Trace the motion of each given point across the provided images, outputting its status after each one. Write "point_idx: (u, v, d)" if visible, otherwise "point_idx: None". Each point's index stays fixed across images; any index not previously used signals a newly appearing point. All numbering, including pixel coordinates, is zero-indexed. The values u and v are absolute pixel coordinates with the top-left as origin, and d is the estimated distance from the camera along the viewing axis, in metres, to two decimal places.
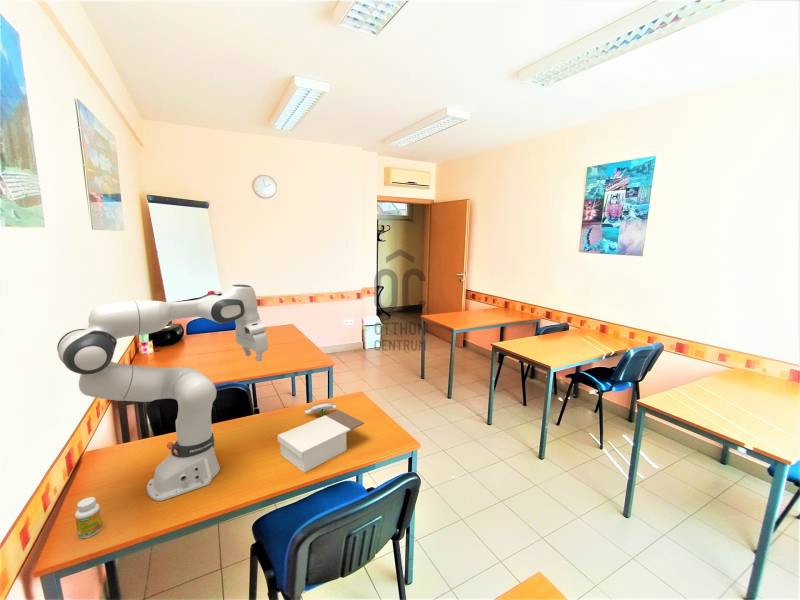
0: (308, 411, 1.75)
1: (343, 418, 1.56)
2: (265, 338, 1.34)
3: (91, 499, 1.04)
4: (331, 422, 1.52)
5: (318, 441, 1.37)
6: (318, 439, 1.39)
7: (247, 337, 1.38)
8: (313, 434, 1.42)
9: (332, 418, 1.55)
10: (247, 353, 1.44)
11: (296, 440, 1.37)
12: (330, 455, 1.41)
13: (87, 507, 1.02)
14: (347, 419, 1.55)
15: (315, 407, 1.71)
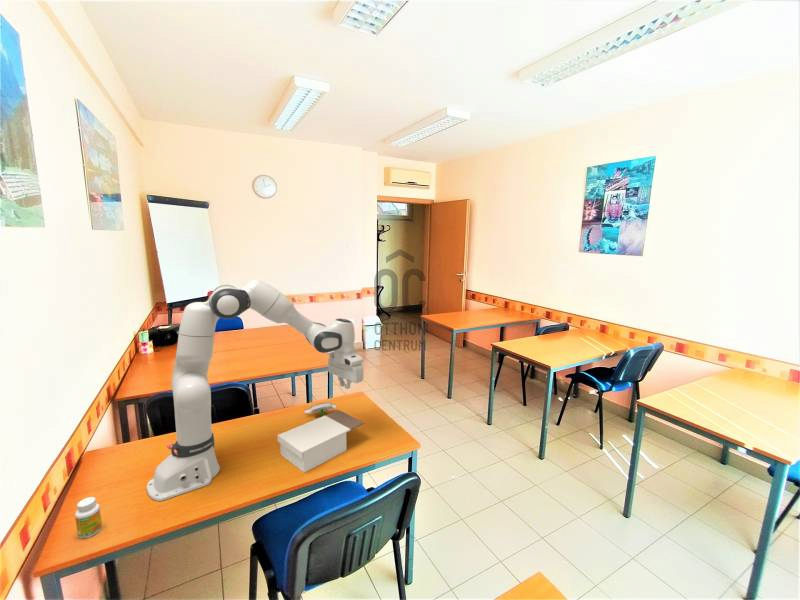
0: (308, 411, 1.75)
1: (343, 418, 1.56)
2: (362, 370, 1.47)
3: (91, 499, 1.04)
4: (331, 422, 1.52)
5: (318, 441, 1.37)
6: (318, 439, 1.39)
7: (343, 367, 1.50)
8: (313, 434, 1.42)
9: (332, 418, 1.55)
10: (342, 384, 1.54)
11: (296, 440, 1.37)
12: (330, 455, 1.41)
13: (87, 507, 1.02)
14: (347, 419, 1.55)
15: (315, 407, 1.71)
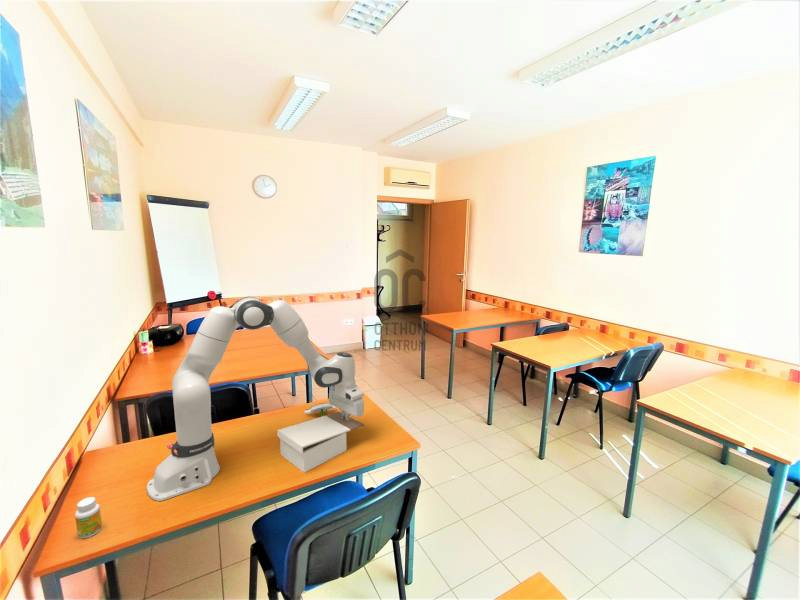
0: (308, 411, 1.75)
1: (343, 419, 1.56)
2: (362, 404, 1.49)
3: (91, 499, 1.04)
4: (331, 422, 1.52)
5: (318, 438, 1.37)
6: (318, 436, 1.39)
7: (344, 401, 1.53)
8: (313, 431, 1.42)
9: (332, 418, 1.56)
10: None
11: (296, 436, 1.37)
12: (330, 455, 1.41)
13: (87, 507, 1.02)
14: None
15: (315, 407, 1.71)
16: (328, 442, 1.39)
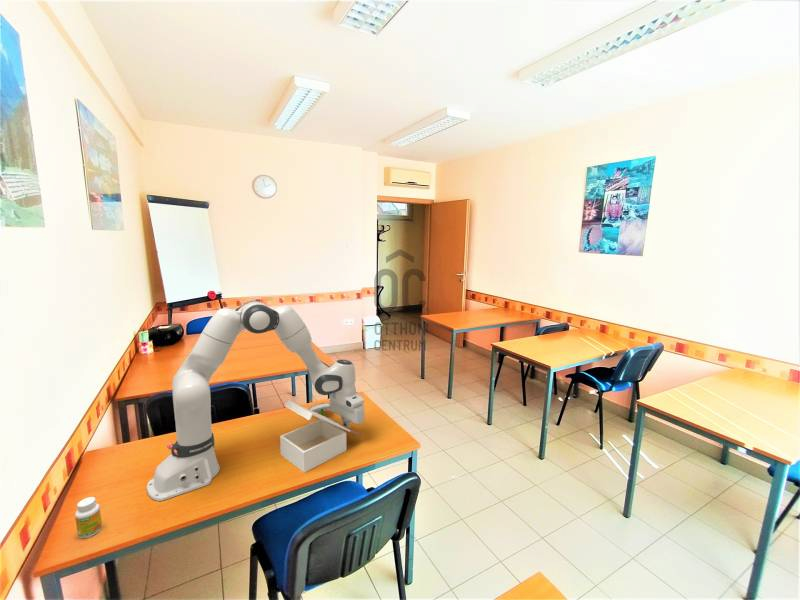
0: None
1: (342, 425, 1.56)
2: (363, 411, 1.50)
3: (91, 499, 1.04)
4: (332, 421, 1.52)
5: (324, 418, 1.38)
6: (324, 418, 1.40)
7: (344, 408, 1.53)
8: (318, 415, 1.43)
9: (332, 420, 1.56)
10: None
11: (305, 409, 1.39)
12: (330, 455, 1.41)
13: (87, 507, 1.02)
14: (345, 427, 1.55)
15: (315, 407, 1.71)
16: (328, 442, 1.39)
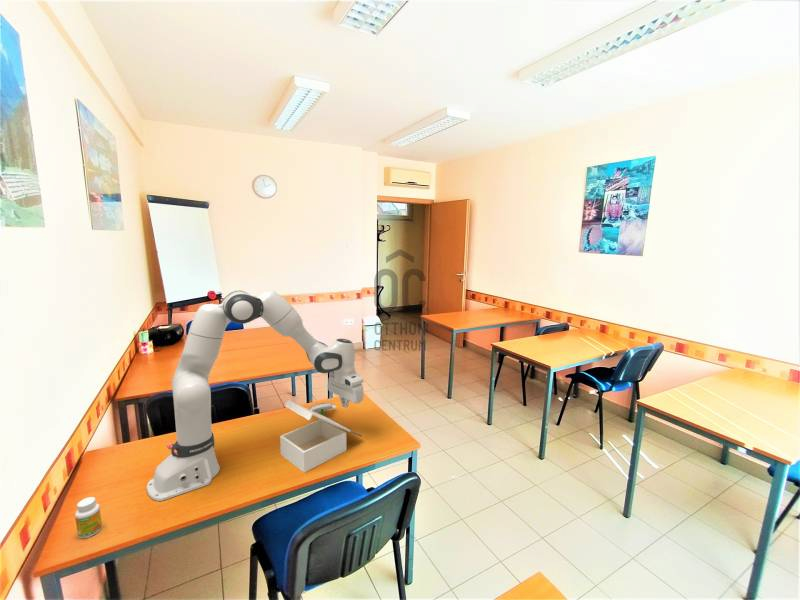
0: None
1: (342, 425, 1.56)
2: (362, 390, 1.48)
3: (90, 499, 1.04)
4: (332, 421, 1.52)
5: (324, 418, 1.38)
6: (324, 418, 1.40)
7: (343, 387, 1.52)
8: (318, 415, 1.43)
9: (332, 420, 1.56)
10: None
11: (305, 409, 1.39)
12: (330, 455, 1.41)
13: (87, 507, 1.02)
14: (345, 427, 1.55)
15: (315, 407, 1.71)
16: (328, 442, 1.39)
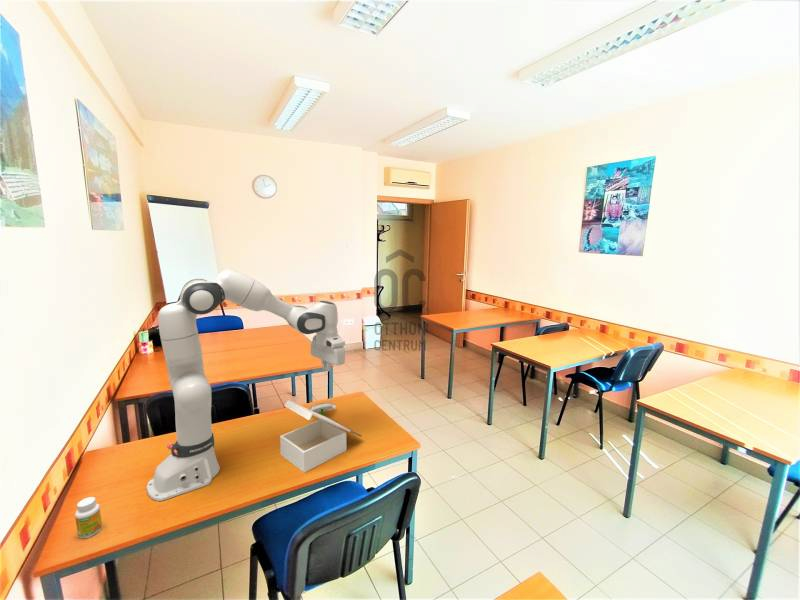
0: None
1: (342, 425, 1.56)
2: (343, 352, 1.46)
3: (90, 499, 1.04)
4: (332, 421, 1.52)
5: (324, 418, 1.38)
6: (324, 418, 1.40)
7: (325, 350, 1.49)
8: (318, 415, 1.43)
9: (332, 420, 1.56)
10: None
11: (305, 409, 1.39)
12: (330, 455, 1.41)
13: (87, 507, 1.02)
14: (345, 427, 1.55)
15: (315, 407, 1.71)
16: (328, 442, 1.39)
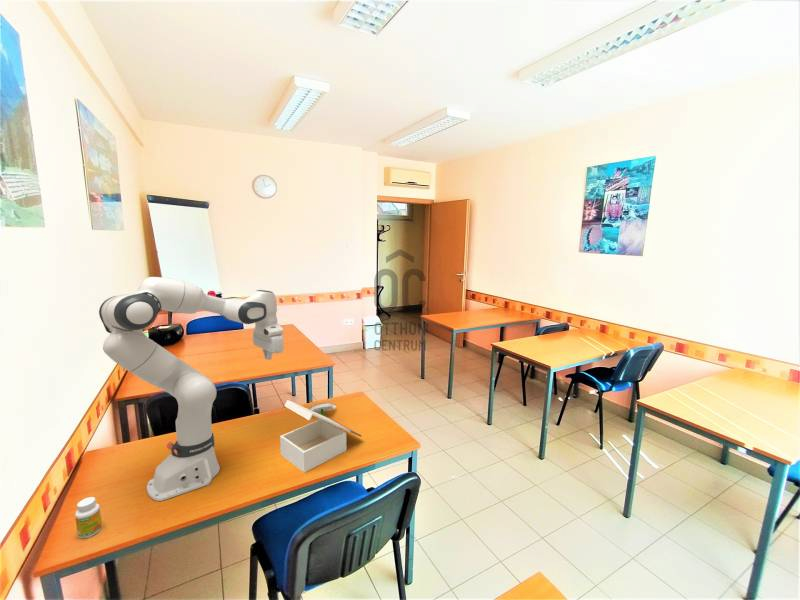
0: None
1: (342, 425, 1.56)
2: (281, 340, 1.46)
3: (90, 499, 1.04)
4: (332, 421, 1.52)
5: (324, 418, 1.38)
6: (324, 418, 1.40)
7: (264, 339, 1.50)
8: (318, 415, 1.43)
9: (332, 420, 1.56)
10: None
11: (305, 409, 1.39)
12: (330, 455, 1.41)
13: (87, 507, 1.02)
14: (345, 427, 1.55)
15: (315, 407, 1.71)
16: (328, 442, 1.39)
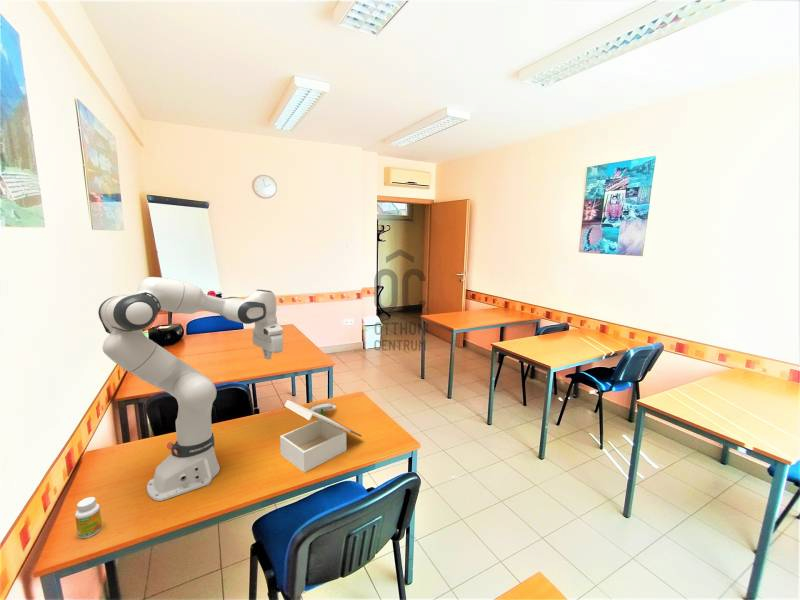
0: None
1: (342, 425, 1.56)
2: (281, 340, 1.46)
3: (91, 499, 1.04)
4: (332, 421, 1.52)
5: (324, 418, 1.38)
6: (324, 418, 1.40)
7: (264, 338, 1.50)
8: (318, 415, 1.43)
9: (332, 420, 1.56)
10: None
11: (305, 409, 1.39)
12: (330, 455, 1.41)
13: (87, 507, 1.02)
14: (345, 427, 1.55)
15: (315, 407, 1.71)
16: (328, 442, 1.39)
